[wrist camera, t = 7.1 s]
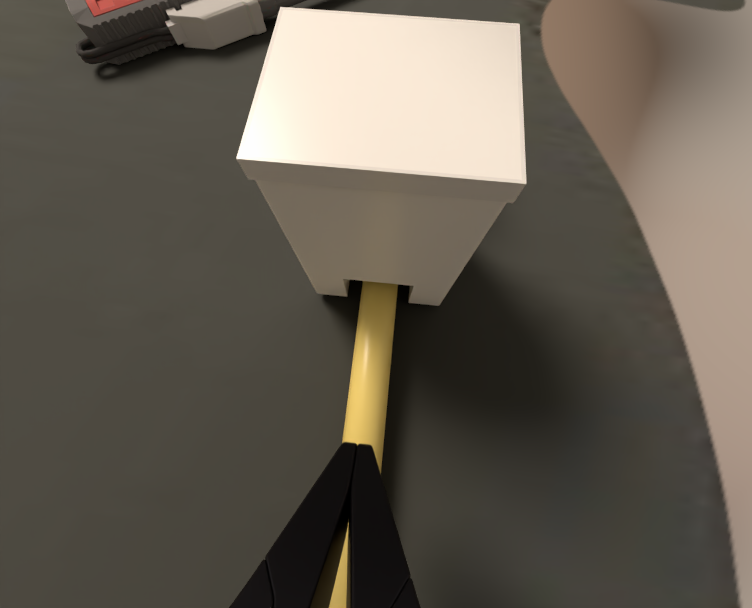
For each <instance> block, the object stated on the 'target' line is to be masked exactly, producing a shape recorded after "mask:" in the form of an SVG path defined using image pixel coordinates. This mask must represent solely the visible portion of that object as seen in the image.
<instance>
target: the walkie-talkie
mask: <svg viewBox="0 0 752 608" xmlns="http://www.w3.org/2000/svg"><path fill="white" fill-rule="evenodd" d="M65 1H66V3H67V5H68V8H69V10H70V12H71V15H72V16H73V18H74V20H75V21H76V23H77V24H78V25H79V26H80V28H81V29H82V30H83V32H84V33H85V34H86V35H87V38H85V39H83V40H81V41H79V42H78V43H77V44H76V52H77V54H78V55H79V56H81V58H82V60H83V61H84V62H86V63H89V64H97V63H102V62H105V61H107V62H108V63H112V64H118V65H121V63H124V62H129V60H132V59H134V60H135V59H136V58H137V57H140V56H141V57H143V56H144V55H146V54H151V52H154V51H159V49H162V48H163V49H164V48H166V47H167V46H173V44H175V43H177V44H178V45H180V44H182V43H183V44H184V46H185V47H190V48H202V49H213V50H214V49H217V48H219V47H222V46H225V45H227V44H230V43H233V42H235V41H238V40H240V39H243V38H246V37H248V36H251V35H259V34H261V33H264V32H266V27H265V23H264V20H263V19H266V18H268V17H271V16H274V15H276V14H277V12H278V11H279V10H280V7H290V6H293V5H295V4H298V3H301V2H303V1H306V0H65Z"/></svg>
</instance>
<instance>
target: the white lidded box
mask: <svg viewBox="0 0 752 608" xmlns="http://www.w3.org/2000/svg"><path fill="white" fill-rule="evenodd" d="M236 159H237V161H238V162H239V164H240V166H241V168H242V169H243V171H244V173H245V175H246V176H247V178H248V179H251V180H255V181H256V183H257V185H258V186H259V188H260V190H261V192H262V194H263V196H264V197H265V199H266V201H267V203H268V205H269V207H270V208H271V210H272V212H273V214H274V216H275V217H276V219H277V221H278V223H279V225H280V227H281V228H282V230H283V232H284V234H285V236H286V238H287V239H288V241H289V243H290V245H291V247H292V249H293V250H294V252H295V254H296V256H297V258H298V260H299V261H300V263H301V265H302V267H303V269H304V270H305V272H306V274H307V276H308V278H309V280H310V281H311V283H312V285H313V287H314V289H315V291H316V292H317V294H326V295H336V296H346V297H347V296H348V289H349V281H350V280H359V281H369V282H380V283H390V284H400V285H410V288H409V300H408V303H416V304H426V305H436V306H439V305H440V304H441V302H442V301H443V299H444V298H445V296H446V295H447V293H448V291H449V290H450V288H451V287H452V285H453V284H454V282H455V281H456V279H457V278H458V276H459V275H460V273H461V272H462V270H463V269H464V267H465V266H466V264H467V262H468V261H469V259H470V258H471V256H472V255H473V253H474V252H475V250H476V249H477V247H478V246H479V244H480V243H481V241H482V240H483V238H484V237H485V235H486V234H487V232H488V230H489V229H490V227H491V226H492V224H493V223H494V221H495V220H496V218H497V217H498V215H499V214H500V212H501V211H502V209H503V208H504V206H505V205H506V203H507V202H509V203H514V201H515V200H516V198H517V197H518V195H519V194H520V192H521V191H522V190H523V188H524V187H525V185H526V164H525V141H524V118H523V95H522V72H521V48H520V25H519V24H514V23H500V22H486V21H472V20H457V19H443V18H429V17H415V16H401V15H387V14H373V13H359V12H345V11H331V10H316V9H302V8H288V7H280V10H279V14H278V17H277V20H276V24H275V27H274V31H273V34H272V38H271V41H270V45H269V48H268V51H267V55H266V58H265V62H264V65H263V69H262V72H261V76H260V79H259V82H258V86H257V89H256V93H255V96H254V100H253V103H252V107H251V110H250V113H249V117H248V120H247V124H246V127H245V131H244V134H243V138H242V141H241V144H240V148H239V151H238V155H237V158H236Z"/></svg>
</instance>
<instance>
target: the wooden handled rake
mask: <svg viewBox="0 0 752 608" xmlns="http://www.w3.org/2000/svg"><path fill="white" fill-rule="evenodd" d="M397 290H398V284H390V283H380V282H369V281H363V283H362V291H361V299H360V307H359V315H358V323H357V331H356V339H355V347H354V354H353V362H352V370H351V378H350V386H349V394H348V402H347V410H346V418H345V426H344V433H343V441H342V443H343V442H353V443H356V444H357V446H358V444H360V443H361V444H370V445H372V447H373V450H374V453H375V457H376V460H377V464H378V467H379V470H380V474H381V467H382V456H383V445H384V434H385V423H386V412H387V401H388V390H389V379H390V368H391V357H392V345H393V334H394V323H395V312H396V301H397ZM348 525H349V522H348ZM347 552H348V528H347V533H346V538H345V542H344V546H343V551H342V555H341V559H340V563H339V567H338V572H337V576H336V580H335V584H334V588H333V592H332V597H331V601H330V605H329V608H346V595H347Z"/></svg>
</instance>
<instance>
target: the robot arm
mask: <svg viewBox="0 0 752 608" xmlns="http://www.w3.org/2000/svg"><path fill="white" fill-rule="evenodd" d="M348 522H349V525H348ZM347 528H348V552H347V595H346V608H421V607H420V604H419V601H418V598H417V595H416V591H415V588H414V585H413V581H412V579H411V578H410V572H409V568H408V565H407V561H406V558H405V555H404V551H403V548H402V545H401V541H400V538H399V534H398V531H397V528H396V524H395V521H394V518H393V514H392V511H391V507H390V504H389V501H388V497H387V494H386V491H385V487H384V484H383V480H382V477H381V474H380V470H379V467H378V464H377V460H376V457H375V453H374V450H373V447H372V445H370V444H361V443H360V444H358V446H357V444H356V443H353V442H343V443H342V444H341V446H340V447H339V449H338V450H337V452H336V453H335V455H334V456H333V458H332V459H331V460H330V462H329V463H328V465H327V466H326V468H325V469H324V471H323V472H322V474H321V475H320V477H319V478H318V480H317V481H316V483H315V484H314V486H313V487H312V488H311V490H310V491H309V493H308V494H307V496H306V497H305V499H304V500H303V502H302V503H301V505H300V506H299V508H298V509H297V511H296V512H295V514H294V515H293V516H292V518H291V519H290V521H289V522H288V524H287V525H286V527H285V528H284V530H283V531H282V533H281V534H280V536H279V537H278V539H277V540H276V542H275V543H274V545H273V546H272V547H271V549H270V550H269V552H268V553H267V555H266V557H265V559H266V560H263V561H262V562H261V563H260V565H259V566H258V568H257V569H256V571H255V572H254V574H253V575H252V577H251V578H250V579H249V581H248V582H247V584H246V585H245V586H244V588H243V589H242V591H241V592H240V593H239V595H238V596H237V598H236V599H235V600H234V602H233V603H232V604H231V606H230V607H229V608H329V605H330V601H331V597H332V592H333V588H334V584H335V580H336V576H337V572H338V567H339V563H340V559H341V555H342V551H343V546H344V542H345V538H346V533H347Z"/></svg>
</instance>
